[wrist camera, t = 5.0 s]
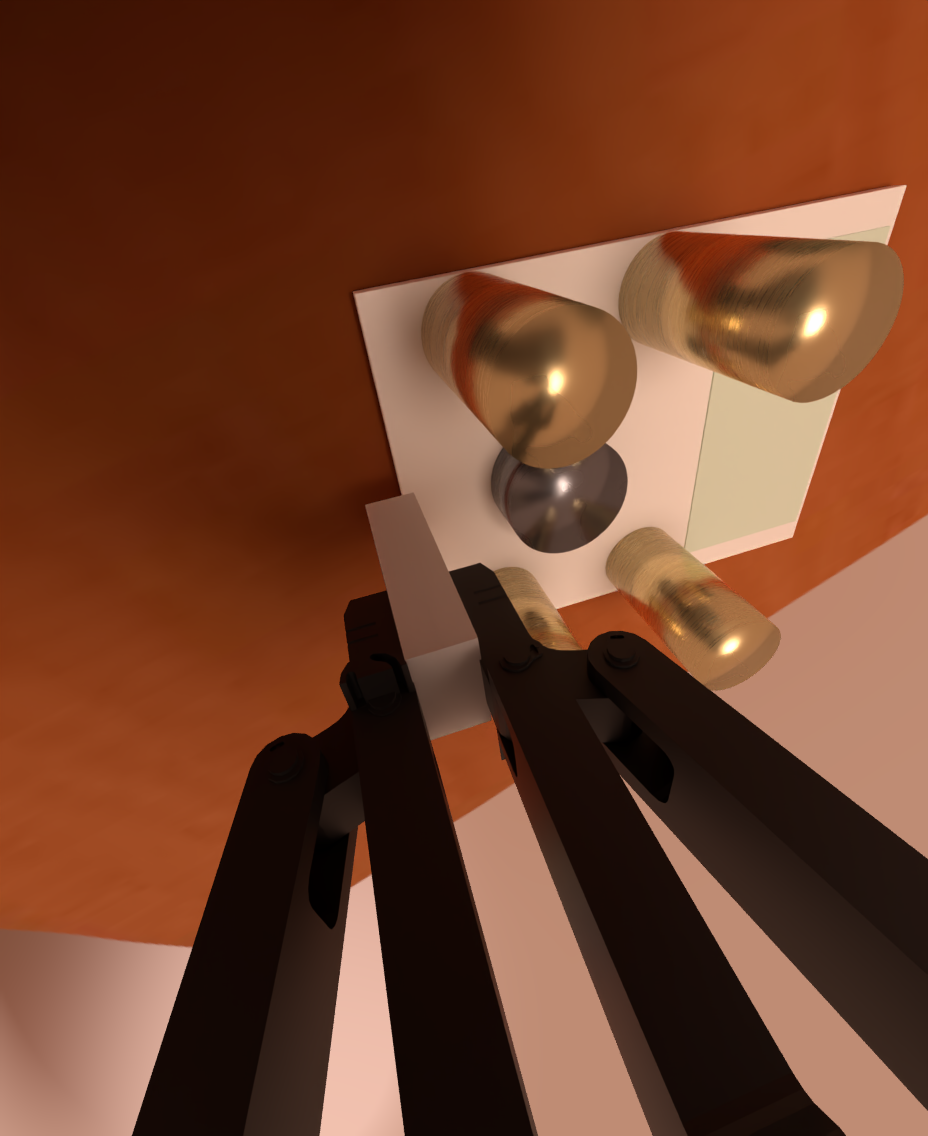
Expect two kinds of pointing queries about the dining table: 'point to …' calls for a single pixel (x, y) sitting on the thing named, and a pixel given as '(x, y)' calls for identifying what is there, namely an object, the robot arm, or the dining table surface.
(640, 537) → the cylinder
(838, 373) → the cylinder
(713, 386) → the board
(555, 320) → the cylinder
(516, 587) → the cylinder
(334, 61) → the dining table surface
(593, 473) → the dark metal puck
